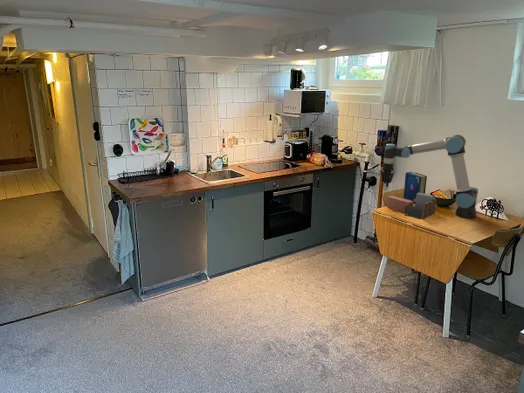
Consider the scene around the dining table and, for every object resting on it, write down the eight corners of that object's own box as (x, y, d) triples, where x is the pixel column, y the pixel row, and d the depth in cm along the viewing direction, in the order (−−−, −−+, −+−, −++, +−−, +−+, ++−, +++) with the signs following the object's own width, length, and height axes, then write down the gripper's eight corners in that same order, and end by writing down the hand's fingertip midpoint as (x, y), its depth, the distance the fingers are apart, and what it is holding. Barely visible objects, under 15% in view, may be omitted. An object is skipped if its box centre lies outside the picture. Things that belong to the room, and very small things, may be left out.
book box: (391, 205, 335) (392, 195, 332) (412, 211, 319) (413, 201, 317) (386, 207, 331) (387, 196, 329) (407, 213, 316) (409, 202, 313)
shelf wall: (432, 213, 315) (434, 199, 312) (434, 213, 314) (436, 199, 311) (421, 218, 302) (423, 203, 299) (423, 219, 301) (424, 204, 298)
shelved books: (418, 209, 324) (420, 192, 320) (432, 213, 316) (435, 195, 311) (414, 211, 320) (416, 193, 316) (429, 214, 312) (431, 196, 308)
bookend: (405, 212, 317) (405, 204, 315) (424, 217, 306) (425, 208, 304) (400, 214, 313) (401, 205, 311) (420, 219, 301) (421, 210, 299)
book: (401, 198, 357) (404, 171, 350) (408, 197, 359) (411, 170, 352) (417, 204, 337) (420, 176, 331) (424, 204, 339) (427, 175, 333)
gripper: (378, 162, 327) (376, 189, 334) (392, 164, 318) (389, 192, 324) (384, 161, 332) (381, 188, 338) (397, 163, 322) (394, 191, 329)
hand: (385, 190), depth 331 cm, fingers closed
